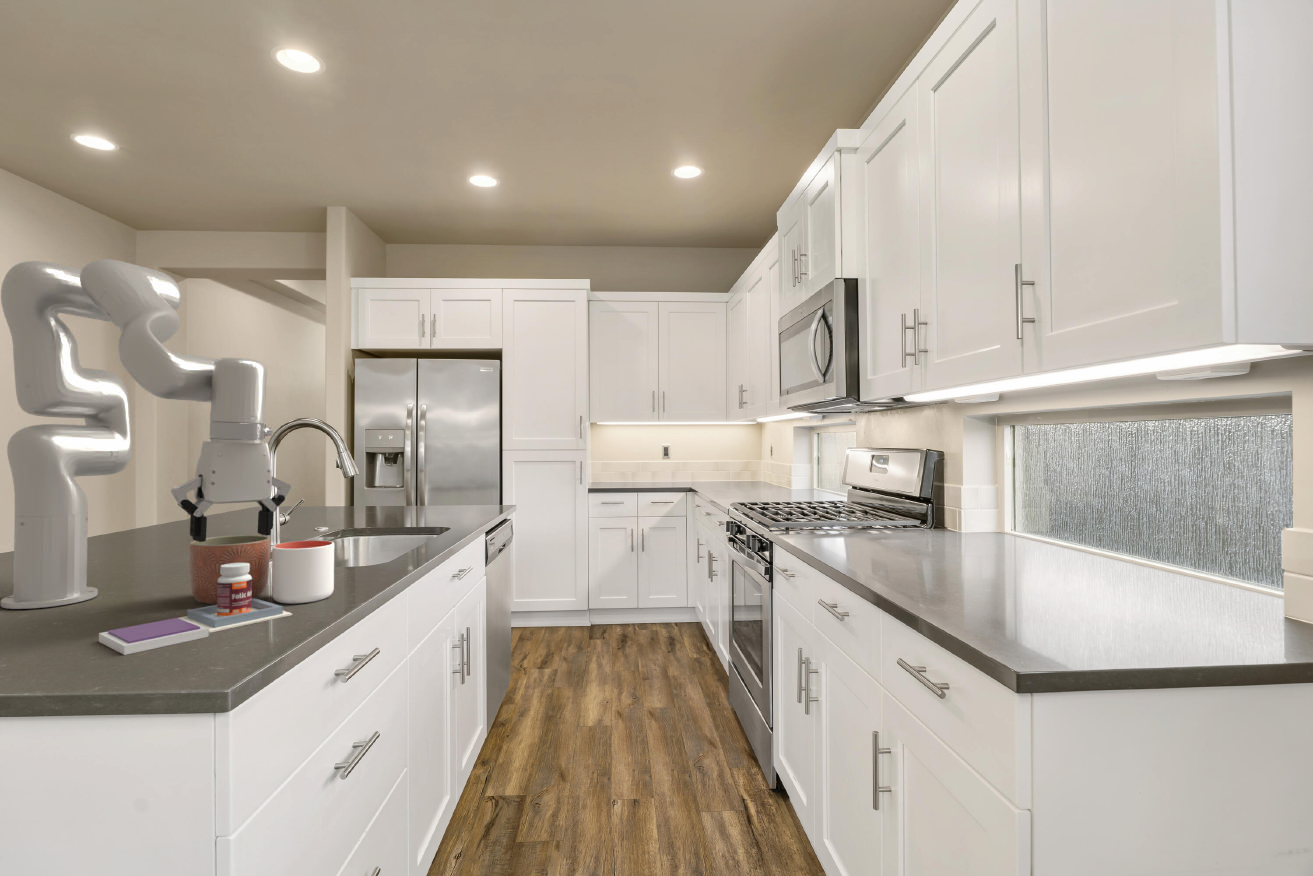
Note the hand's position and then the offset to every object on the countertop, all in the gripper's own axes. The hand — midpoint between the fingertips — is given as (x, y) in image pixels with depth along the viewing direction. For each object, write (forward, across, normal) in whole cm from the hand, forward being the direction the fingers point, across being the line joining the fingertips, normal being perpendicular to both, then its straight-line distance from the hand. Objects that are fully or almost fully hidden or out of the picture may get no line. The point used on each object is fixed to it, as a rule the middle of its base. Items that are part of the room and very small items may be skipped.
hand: (232, 537), depth 105 cm
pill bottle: (+13, 0, +1) cm, 13 cm away
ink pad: (+13, +12, +4) cm, 18 cm away
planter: (+14, -5, -13) cm, 20 cm away
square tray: (+13, 0, +1) cm, 13 cm away
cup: (+13, -13, -3) cm, 19 cm away
